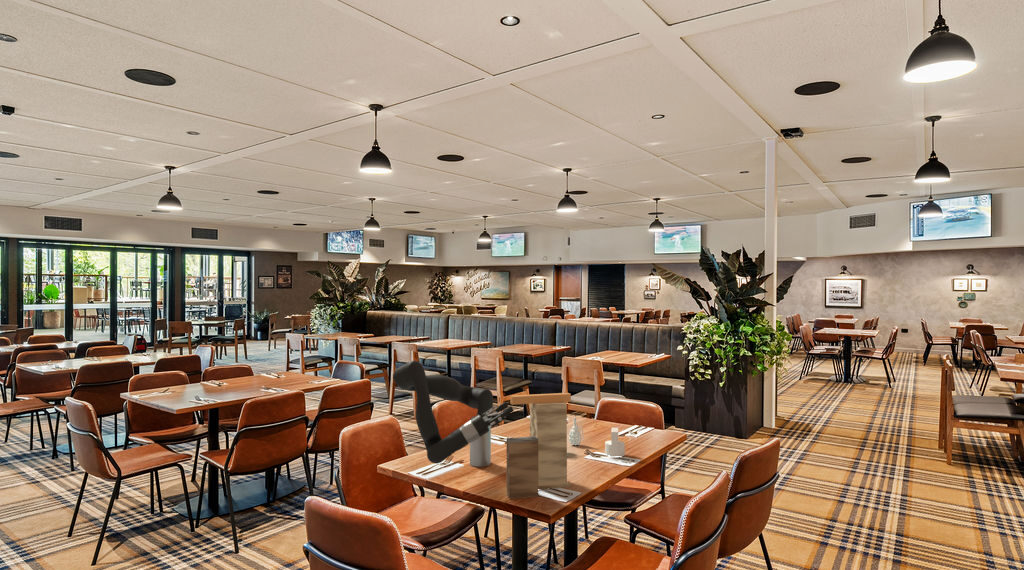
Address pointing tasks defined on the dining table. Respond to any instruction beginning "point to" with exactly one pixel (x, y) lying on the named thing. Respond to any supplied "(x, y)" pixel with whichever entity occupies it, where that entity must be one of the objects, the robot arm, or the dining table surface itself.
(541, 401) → the bar
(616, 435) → the cylinder with rectangular tab
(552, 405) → the stand
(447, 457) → the robot arm
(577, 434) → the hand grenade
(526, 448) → the block
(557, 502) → the dining table surface
